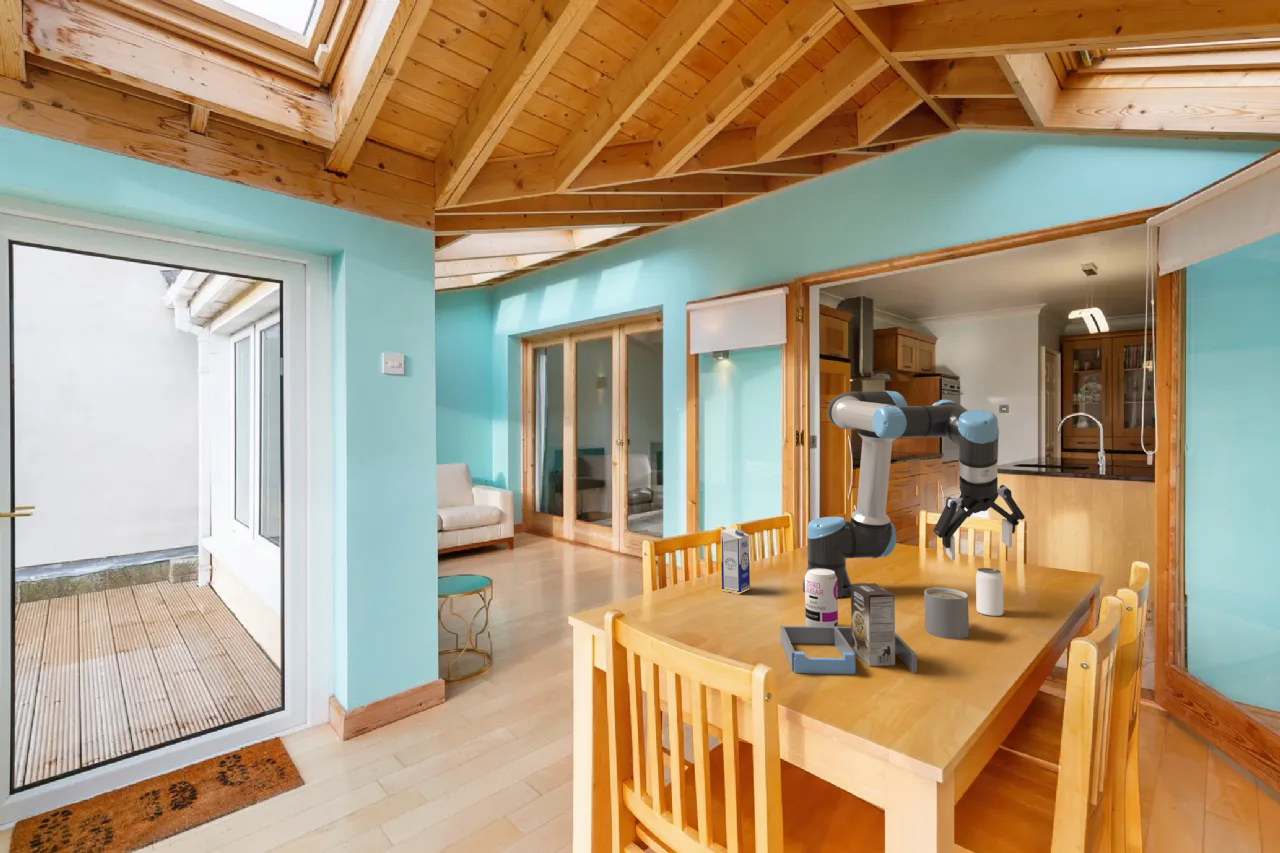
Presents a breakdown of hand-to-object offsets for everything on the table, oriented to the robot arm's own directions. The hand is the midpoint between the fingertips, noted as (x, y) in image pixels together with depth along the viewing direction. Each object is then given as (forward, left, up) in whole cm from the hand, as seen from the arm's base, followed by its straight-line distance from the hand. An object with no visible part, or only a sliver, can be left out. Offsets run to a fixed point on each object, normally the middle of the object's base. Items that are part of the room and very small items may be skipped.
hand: (978, 550), depth 140 cm
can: (-23, +13, -23) cm, 35 cm away
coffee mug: (-9, -4, -23) cm, 25 cm away
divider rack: (+10, -35, -23) cm, 42 cm away
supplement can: (-9, -36, -23) cm, 43 cm away
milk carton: (-43, -56, -23) cm, 74 cm away
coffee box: (+10, -28, -23) cm, 38 cm away
